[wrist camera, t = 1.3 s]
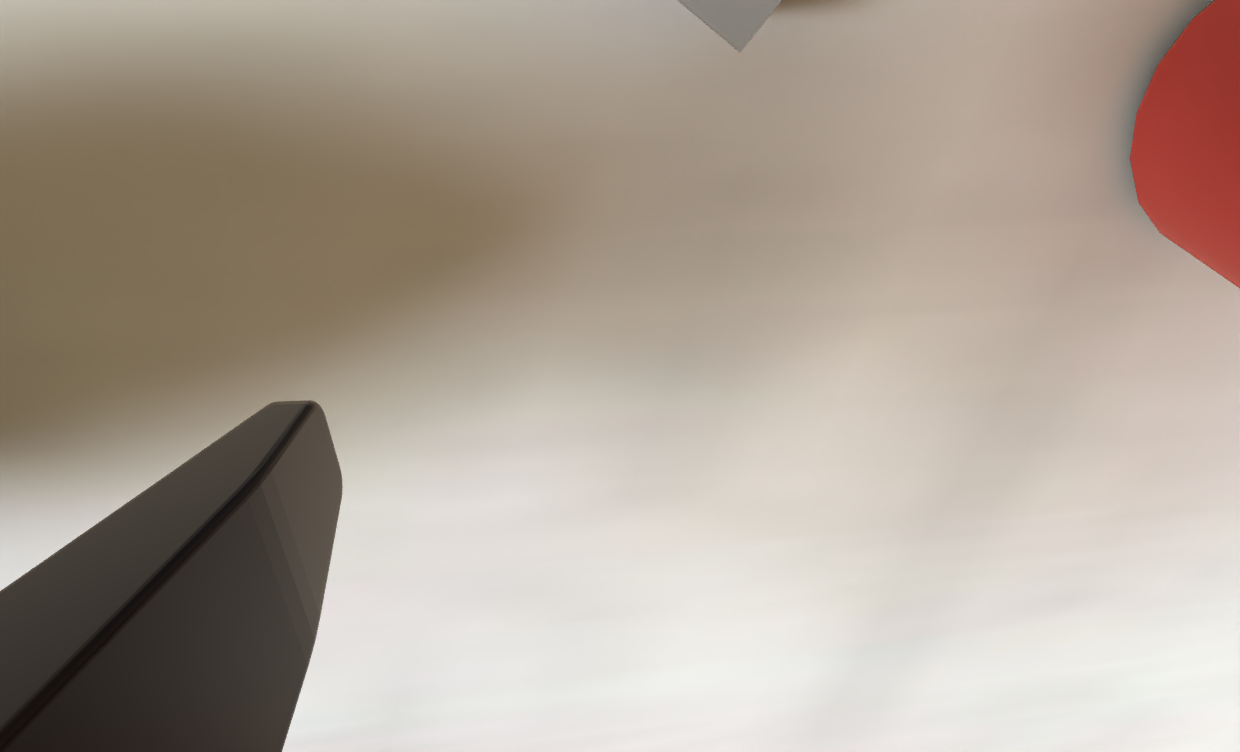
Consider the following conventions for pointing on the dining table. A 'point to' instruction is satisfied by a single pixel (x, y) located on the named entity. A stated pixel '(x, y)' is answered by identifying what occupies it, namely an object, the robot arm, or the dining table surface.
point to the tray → (733, 17)
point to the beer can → (1195, 141)
